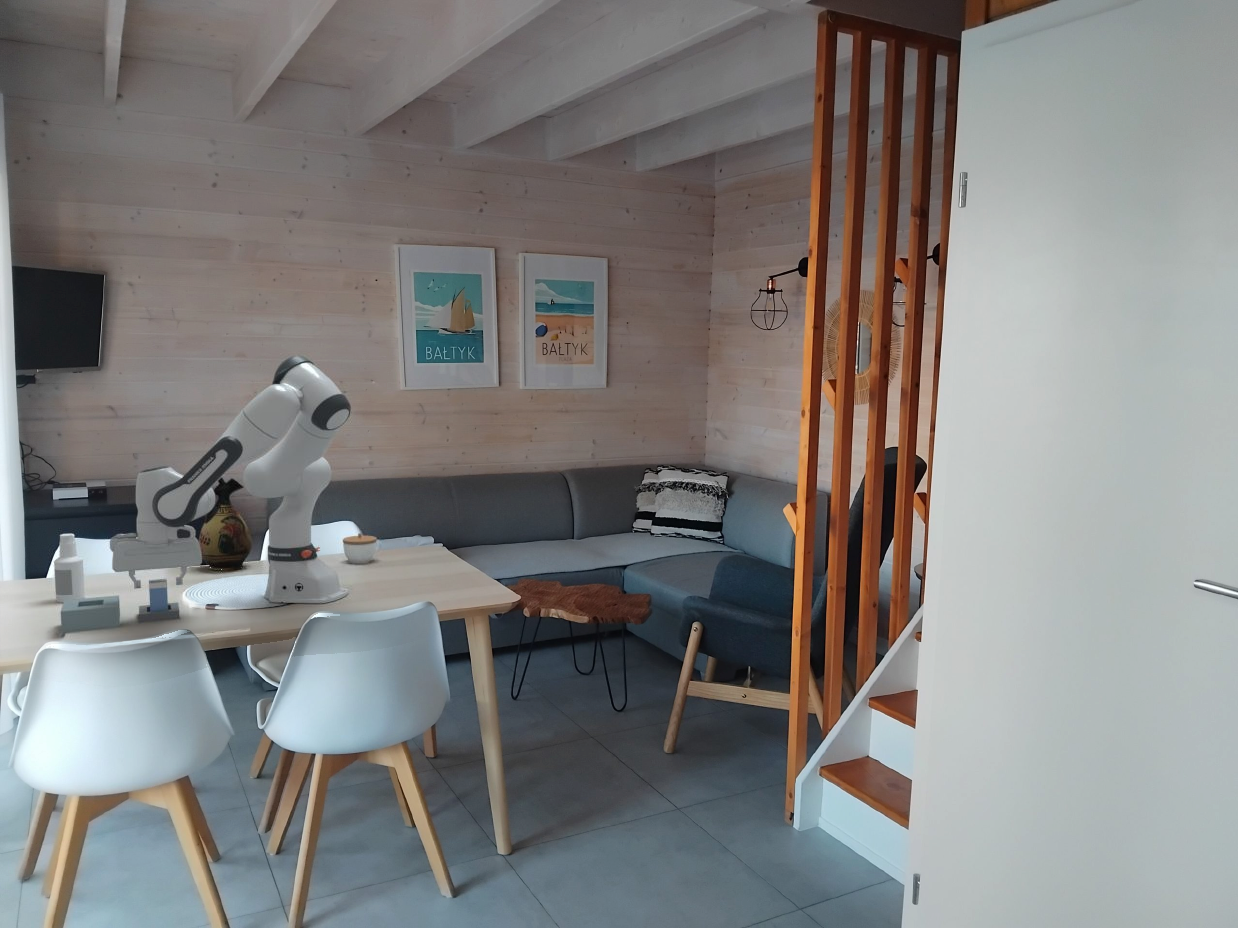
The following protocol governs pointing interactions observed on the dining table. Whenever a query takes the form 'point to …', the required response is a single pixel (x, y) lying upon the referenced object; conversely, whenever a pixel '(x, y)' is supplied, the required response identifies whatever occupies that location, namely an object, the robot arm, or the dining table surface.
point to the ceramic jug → (225, 531)
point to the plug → (158, 595)
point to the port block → (90, 614)
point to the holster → (159, 613)
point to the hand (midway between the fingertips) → (158, 586)
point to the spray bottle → (68, 571)
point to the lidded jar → (359, 548)
